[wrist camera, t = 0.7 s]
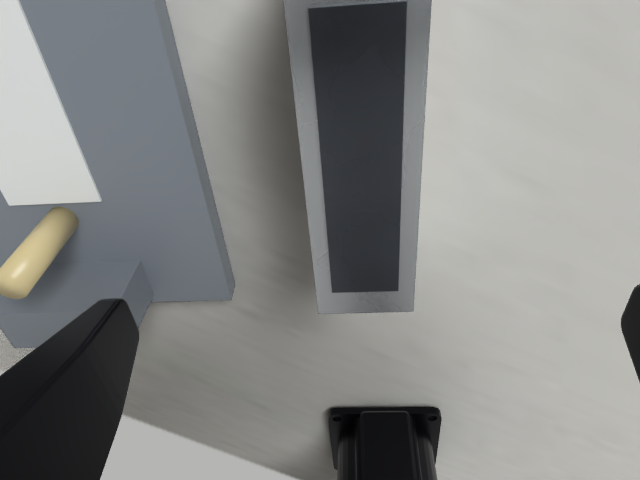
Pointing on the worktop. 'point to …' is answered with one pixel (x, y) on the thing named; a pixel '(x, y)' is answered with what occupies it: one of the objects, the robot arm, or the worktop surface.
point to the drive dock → (99, 167)
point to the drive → (361, 145)
